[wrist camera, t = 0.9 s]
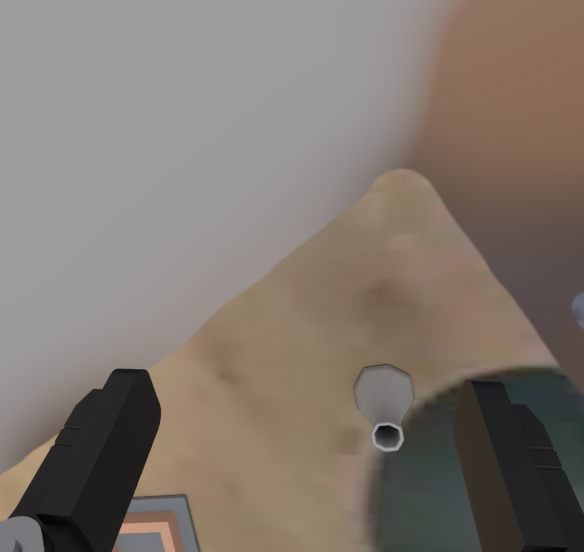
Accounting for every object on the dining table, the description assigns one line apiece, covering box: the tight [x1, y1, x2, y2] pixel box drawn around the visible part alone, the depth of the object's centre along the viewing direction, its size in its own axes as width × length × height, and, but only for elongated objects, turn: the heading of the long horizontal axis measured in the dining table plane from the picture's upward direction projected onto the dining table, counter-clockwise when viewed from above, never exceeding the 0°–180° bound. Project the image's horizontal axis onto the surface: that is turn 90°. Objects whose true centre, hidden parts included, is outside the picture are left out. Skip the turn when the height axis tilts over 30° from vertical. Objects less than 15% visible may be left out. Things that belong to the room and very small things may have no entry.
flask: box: [354, 365, 415, 452], centre depth 46 cm, size 7×7×10 cm
